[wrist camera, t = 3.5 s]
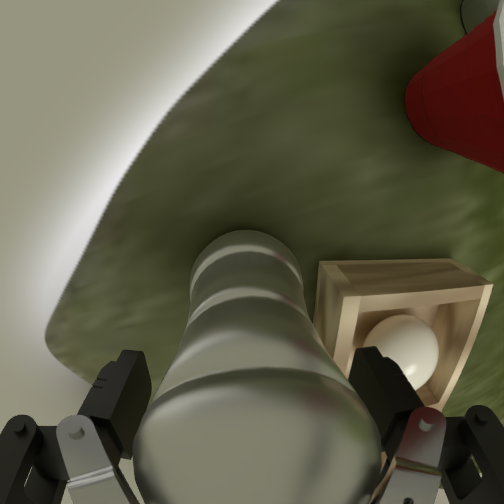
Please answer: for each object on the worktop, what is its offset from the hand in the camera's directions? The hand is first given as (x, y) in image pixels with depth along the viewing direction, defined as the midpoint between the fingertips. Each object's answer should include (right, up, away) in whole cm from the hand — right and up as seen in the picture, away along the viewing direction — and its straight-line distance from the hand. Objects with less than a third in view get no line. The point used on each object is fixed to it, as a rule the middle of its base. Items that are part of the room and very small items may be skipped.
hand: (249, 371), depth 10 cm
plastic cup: (+14, +15, +7) cm, 21 cm away
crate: (+11, -7, +13) cm, 19 cm away
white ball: (+11, -2, +11) cm, 16 cm away
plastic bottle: (0, +3, +10) cm, 11 cm away
